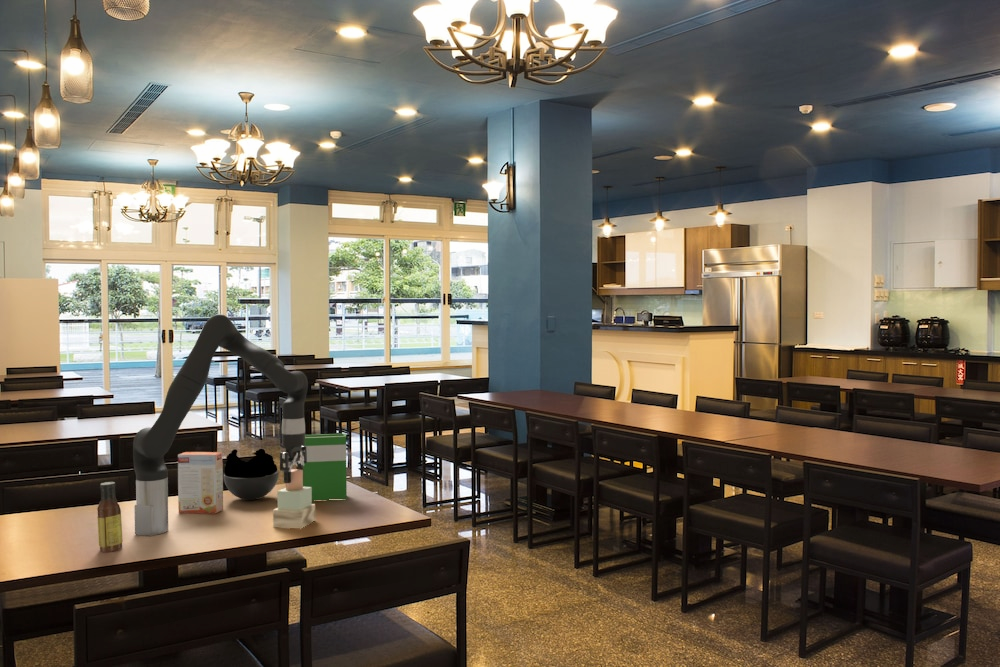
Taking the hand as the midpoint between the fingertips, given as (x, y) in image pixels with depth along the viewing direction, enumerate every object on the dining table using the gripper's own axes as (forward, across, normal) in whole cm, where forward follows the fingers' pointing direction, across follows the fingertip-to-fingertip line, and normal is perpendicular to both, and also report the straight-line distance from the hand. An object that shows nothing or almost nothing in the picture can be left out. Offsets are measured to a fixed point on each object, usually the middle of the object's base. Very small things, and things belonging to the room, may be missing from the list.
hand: (293, 480), depth 252 cm
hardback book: (+15, +34, +6) cm, 38 cm away
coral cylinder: (+3, 0, 0) cm, 3 cm away
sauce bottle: (+15, -37, +40) cm, 56 cm away
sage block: (+9, 0, 0) cm, 9 cm away
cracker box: (+15, +8, +40) cm, 43 cm away
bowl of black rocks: (+15, +28, +32) cm, 45 cm away
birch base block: (+15, 0, 0) cm, 15 cm away
